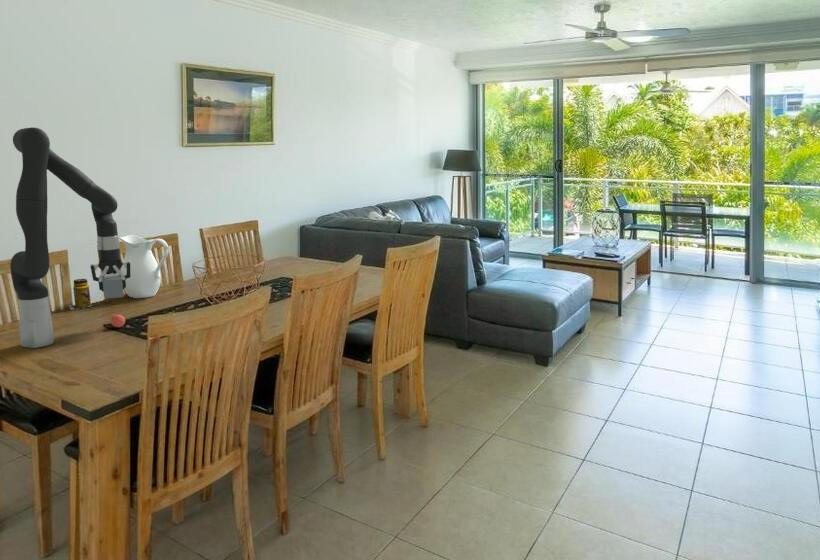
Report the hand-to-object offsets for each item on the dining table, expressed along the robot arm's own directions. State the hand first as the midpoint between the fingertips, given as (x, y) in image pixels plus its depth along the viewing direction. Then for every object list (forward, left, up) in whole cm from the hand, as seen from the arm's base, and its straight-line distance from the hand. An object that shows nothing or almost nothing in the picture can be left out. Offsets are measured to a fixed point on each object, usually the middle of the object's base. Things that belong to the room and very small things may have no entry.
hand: (113, 289), depth 239 cm
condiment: (+20, +36, -15) cm, 44 cm away
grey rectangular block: (0, 0, -2) cm, 2 cm away
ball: (0, -1, -12) cm, 12 cm away
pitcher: (+45, +21, -15) cm, 51 cm away
